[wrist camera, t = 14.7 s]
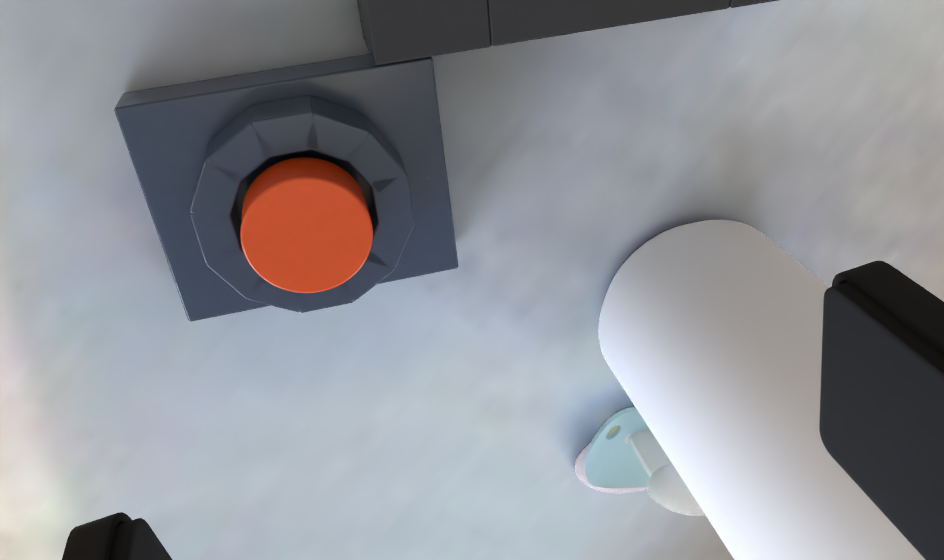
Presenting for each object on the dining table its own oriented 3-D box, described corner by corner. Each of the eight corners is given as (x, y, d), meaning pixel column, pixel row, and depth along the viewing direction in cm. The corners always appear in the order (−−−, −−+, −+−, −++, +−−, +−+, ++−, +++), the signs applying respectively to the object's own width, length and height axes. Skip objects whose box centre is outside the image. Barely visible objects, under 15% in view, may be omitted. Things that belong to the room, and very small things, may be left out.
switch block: (192, 298, 29) (183, 351, 26) (122, 92, 25) (102, 127, 22) (450, 247, 31) (469, 292, 28) (423, 44, 26) (443, 71, 23)
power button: (259, 278, 26) (258, 305, 24) (227, 168, 24) (224, 190, 22) (376, 255, 26) (382, 280, 25) (355, 146, 24) (361, 166, 23)
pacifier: (683, 478, 41) (718, 389, 38) (743, 577, 36) (789, 483, 33) (553, 486, 39) (578, 393, 36) (597, 592, 34) (631, 494, 31)
